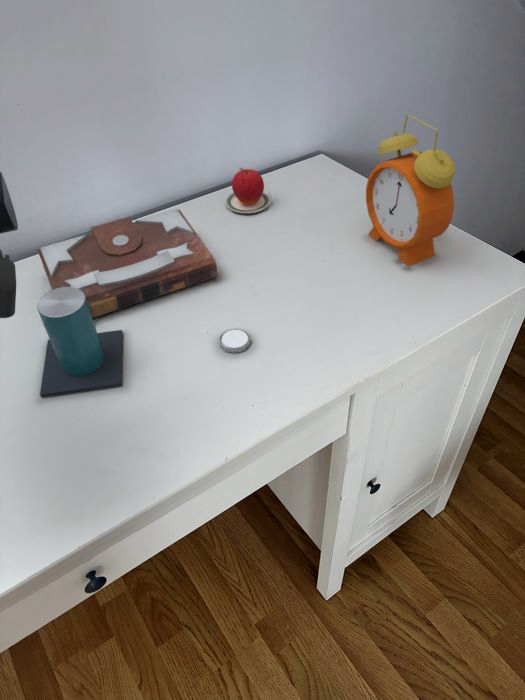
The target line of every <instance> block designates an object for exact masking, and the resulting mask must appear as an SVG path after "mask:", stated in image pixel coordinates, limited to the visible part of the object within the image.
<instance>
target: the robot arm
mask: <svg viewBox="0 0 525 700" xmlns="http://www.w3.org/2000/svg"><path fill="white" fill-rule="evenodd" d="M18 230H19V224H18V221H17V215H16V211H15V208H14V204H13V201H12V198H11V195H10V191H9V189H8V185H7V183H6V180H5V177H4V175H3V173H2V171H0V234H5V233H11V232H15V231H18ZM16 273H17V271H16V264H15V262H14V261H12V260H11V257H10V254H4V255H3V252H2V250H1V249H0V319H8V318H12V317H13V316H14V315H15V314H16V303H17V302H16V300H17V274H16Z"/></svg>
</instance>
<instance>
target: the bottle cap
mask: <svg viewBox="0 0 525 700" xmlns="http://www.w3.org/2000/svg"><path fill="white" fill-rule="evenodd" d="M219 344H220V347H221V349H222V350H224V351H225V352H228V353H240V352H243V351H245V350H247V349H248V347H249V346H250V344H251V337H250V334H249V333H248V332H247V331H246V330H244V329H240V328H231V329H227V330H226V331H224V332H223V333H222V334H220V337H219Z"/></svg>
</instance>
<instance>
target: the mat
mask: <svg viewBox="0 0 525 700" xmlns="http://www.w3.org/2000/svg"><path fill="white" fill-rule="evenodd" d="M97 333H98V337H99V340H100V343H101V346H102V349H103V352H104V361H103V363H102V365H101V366H100V367H99V368H98V369H97V370H96V371H94V372H92V373H90V374H87V375H83V376H72V375H69V374H67V373H65V372H64V371H63V370H62V368H61V366H60V363H59V361H58V358H57V356H56V353H55V351H54V349H53V346H52V344H51V341H50V339H49V338H48V339H47V343H46V348H45V349H46V350H45V357H44V364H43V370H42V377H41V383H40V384H41V385H40V391H39V396H40V398H42V399H43V398H47V397H55V396H62V395H69V394H76V393H82V392H91V391H97V390H105V389H111V388H112V389H113V388H118V387H123V371H124V370H123V365H124V362H123V359H124V357H123V355H124V354H123V353H124V352H123V351H124V332H123V329H118V330H110V331H102V332H97Z"/></svg>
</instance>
